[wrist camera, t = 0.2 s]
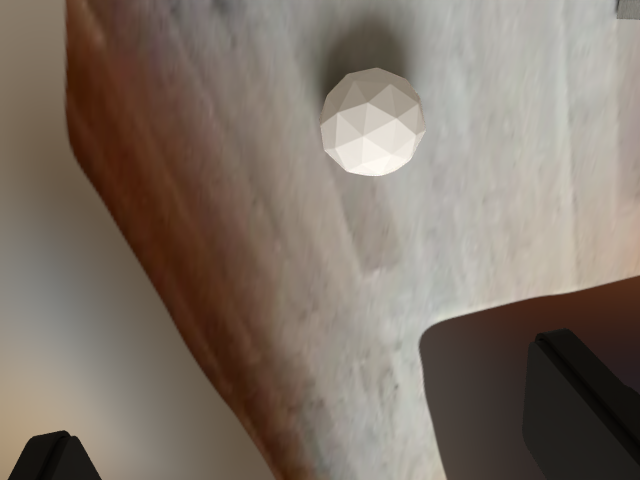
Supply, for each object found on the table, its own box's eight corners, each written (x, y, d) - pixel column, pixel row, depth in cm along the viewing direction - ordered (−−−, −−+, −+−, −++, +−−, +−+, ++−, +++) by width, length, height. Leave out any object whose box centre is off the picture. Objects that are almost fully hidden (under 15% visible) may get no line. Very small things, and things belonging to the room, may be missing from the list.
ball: (377, 96, 40) (459, 112, 35) (334, 178, 40) (411, 206, 35) (330, 40, 34) (421, 50, 29) (280, 136, 34) (363, 162, 29)
